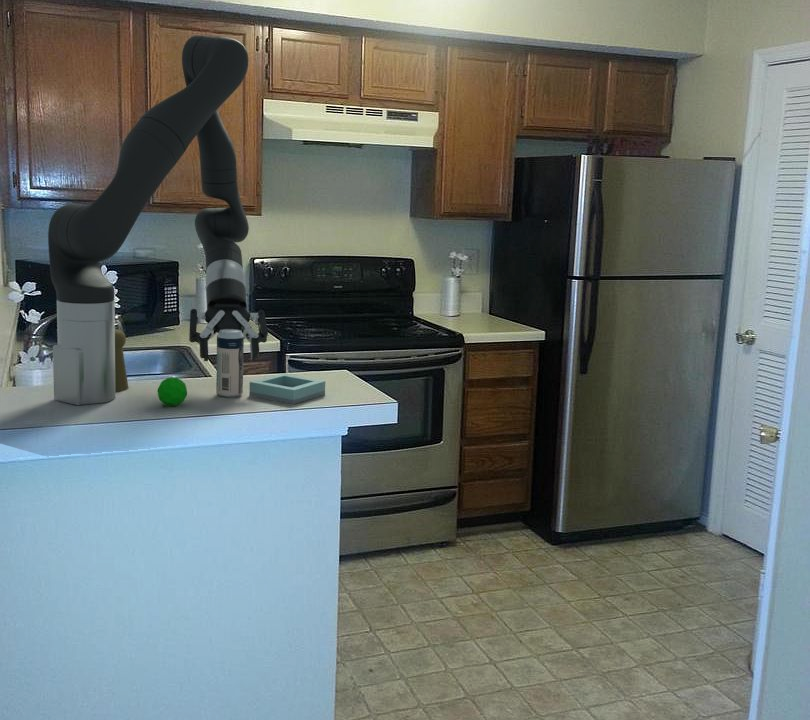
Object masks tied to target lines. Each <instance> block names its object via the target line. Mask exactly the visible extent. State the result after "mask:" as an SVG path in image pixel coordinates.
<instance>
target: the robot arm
mask: <svg viewBox="0 0 810 720" xmlns="http://www.w3.org/2000/svg"><path fill="white" fill-rule="evenodd" d="M181 64H182V65H181V66H182V72H183V79H184V83H185V87H184V88H182V89H181V90H179V91H178V92H176V93H174V94H173V95H170V96H169V97H167V98H165V99H163V100H161V101H159V102H158V103H157V104H155V105H153V107H150V108H149V109H148V110H147V111H146V112H144V113H143V114H142V116H140V118H139V120H138V121H137V122H136V123H135V125H134V126H133V127H132V128H131V129H130V131H129V133H128V134H127V136H126V137H125V139H124V140H123V143H122V144H121V148H120V151H119V156H118V164H117V168H116V172H115V175H114V176H113V178H112V180H111V181H110V183H109V184H108V185H107V187H106V188H105V189H104V190H103V192H101V194H100V195H99V196H98V197H97V198H96V200H94V201H93V202H92V203H91V204H79V203H77V204H76V203H70V204H64V205H62V206H60V207H59V208H58V209H56V210H55V211H54V212H53V214H52V216H51V218H50V220H49V224H48V231H47V242H48V244H47V245H48V258H49V260H48V261H49V272H50V279H51V282H52V285H53V286H54V289H55V294H56V323H57V324H56V327H57V328H56V330H57V333H56V336H57V344H54V345H53V346H52V370H53V371H52V372H53V373H52V374H53V376H52V377H53V400H54V401H58V402H63V403H67V404H71V405H76V406H81V405H89V404H100V403H106V402H109V401H113V400H115V398H116V392H115V329H116V327H115V324H116V323H115V321H116V319H115V311H116V309H115V305H116V304H115V286H114V285H113V283H112V282H111V281H110V280H109V279H108V278H107V277H106V276H105V275H104V273H103V271H102V269H101V264H100V262H103V261H107V260H109V259H111V258H112V257H113V256H114V255H115V254H117V253H118V251H119V250H120V249H121V247H122V246H123V244H124V243H125V241H126V239H127V237H128V236H129V234H130V232H131V230H132V229H133V227H134V225H135V223H136V222H137V220H138V218H139V216H140V215H141V213H142V211H143V209H144V208H145V206H146V205H147V203H148V202H149V200H150V199H151V198H152V197H153V195H154V194H155V193H156V191H157V190H158V188H159V187H160V185H162V182H164V180H165V178H166V177H167V176H168V174H170V172H171V171H172V170H173V169H174V167H175V166H176V165H177V163H178V162H179V160H180V159H181V157H182V156H183V155H184V154H185V152H186V151H187V149H188V147H189V146H190V144H191V143H192V142H193V140H194V139H195V138H196V137H197V143H198V151H199V153H198V154H199V164H200V165H199V166H200V180H201V190H202V193H203V195H204V196H205V197H208V198H212V199H216V200H221V201H224V202H225V203H227V205H228V206H229V207H209V208H208V207H207V208H206V207H205V208H202V209H201V210H200V211H198V213H197V214H196V216H195V219H194V227H195V228H194V229H195V232H196V234H197V235H196V236H197V237H198V239H199V241H200V243H201V245H202V248H203V250H204V255H205V272H206V274H205V288H204V290H205V298H206V310H205V312H201V311H197V310H198V309H195V308H191V309H190V314H189V334H188V335H189V336H188V337H189V338H188V340H189V342H190V343H197V344H198V346H199V357H200V359H203V361H204V362H209V341H210V340H212V339H213V338H214V337H215V336H216V334H218V333H219V331H220V330H223V329H236V330H241V331H242V333H243V335H244V340H247V341H248V342H249V346H250V348H249V349H250V361H251V362H255V361H256V359H258V358H259V357H260V356H259V355H260V343H266V342H267V340H268V335H269V330H268V325H267V319H266V312H265V310H263V309H260V310H258V311H257V312H250V311H249V310H248V302H247V301H248V300H247V289H246V288H247V287H246V279H245V278H246V277H245V273H244V268H243V257H242V256H243V255H242V249H241V248H240V246H239V245H238V244H237V243H241V242H244V241H245V239H246V238H247V236H248V234H249V229H250V227H249V222H248V218H247V215H246V212H245V210H244V207H243V204H242V200H241V197H240V196H241V195H240V192H239V186H238V167H237V166H238V165H237V164H238V163H237V157H236V156H237V155H236V151H235V147H234V144H233V142H232V139H231V137H230V136H229V133H228V131H227V129H226V127H225V125H224V123H223V121H222V119H221V118H222V117H221V115H220V114H219V108H220V107H221V106H222V105H223V104H224V103H225V102H226V101H227V100H228V99H229V98H230V97H231V96H232V94H233V93H234V92H235V91H236V90H237V89H238V88H239V87H240V85H241V84H242V83H243V81H244V79H245V77H246V75H247V72H248V68H249V54H248V51H247V48H246V47H245V45H244V44H243V43H242V42H240V41H239V40H237V39H235V38H231V37H227V36H216V35H206V34H205V35H203V34H195V35H193V36H191V37H189V38H188V39H187V40H186V42H185V44H184V45H183V48H182V54H181ZM203 320H205V322H206V324H207V325H206V326H205V328H204V329H202V331H201V332H199V331H198V332H197V327H198V326H197V325H200V324H201V323H202V321H203ZM251 320H252V321H253V322H254V323H253V324H255V325H256V326H257V328H258V332H257V331H256V330H255V329H254V328H252V325H251V323H250V321H251Z"/></svg>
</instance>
